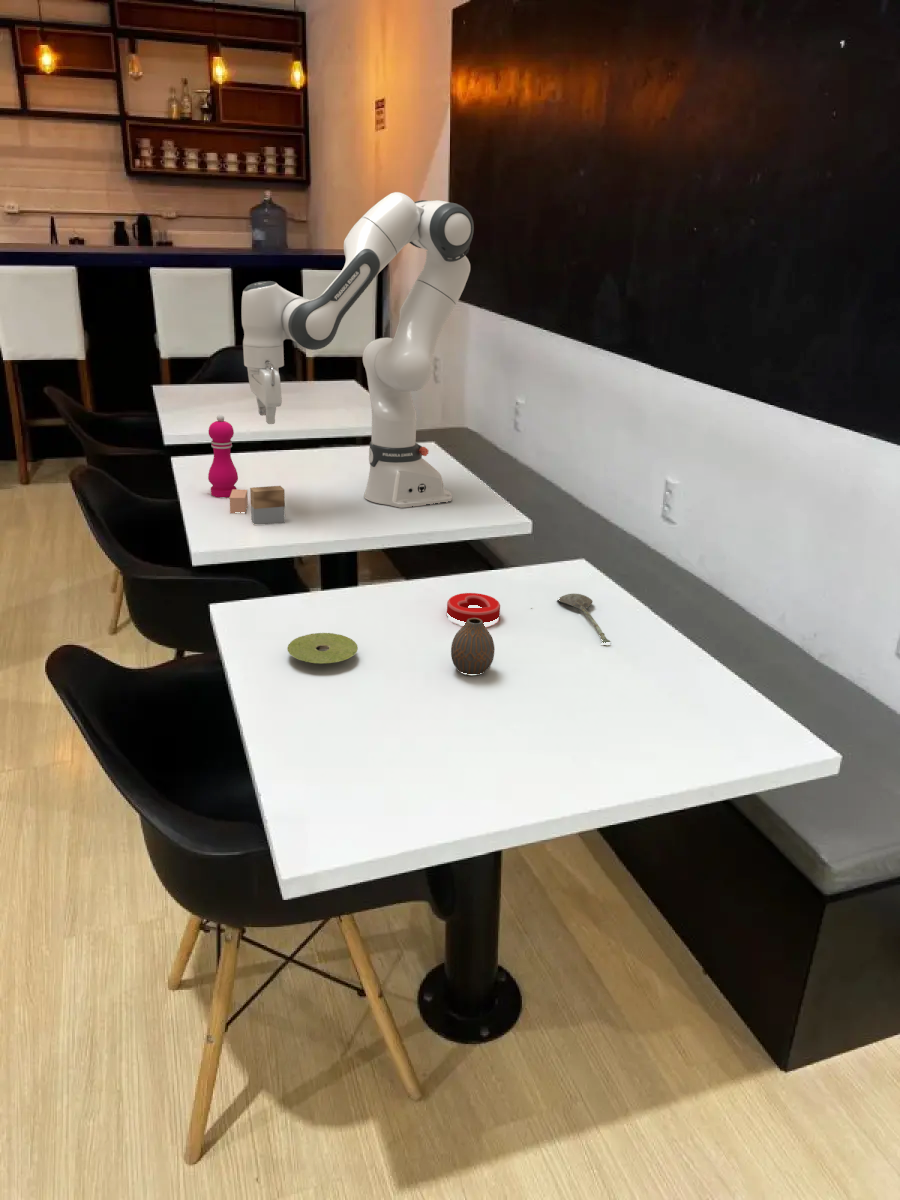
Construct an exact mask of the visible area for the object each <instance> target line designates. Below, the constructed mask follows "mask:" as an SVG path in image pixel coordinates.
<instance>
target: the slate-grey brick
mask: <svg viewBox="0 0 900 1200" xmlns="http://www.w3.org/2000/svg"><path fill="white" fill-rule="evenodd" d="M250 518H251V519H250V520H252V521H251V523H252V524H253V523H254V524H265V525H275V524H277V525H278V524H286V523H285V522H286V521H285V507H273V508H260V509H254V508H253V507H252V505H251V504H250ZM254 524H253V525H254Z"/></svg>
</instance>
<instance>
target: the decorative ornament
mask: <svg viewBox="0 0 900 1200" xmlns="http://www.w3.org/2000/svg"><path fill="white" fill-rule="evenodd" d="M469 605H478V606H480V607H482V608H468V606H469ZM447 613H448V614H449V615H450V616H451V617H453V618H455V619H457V620H460V621H464V622H467V620H468V619H470V618H479V619H481V620H482V621H483V623H484V622H490V621H493V620H495V619H497V618H498V617H499V618H500V616H499V615H500V614H501V604H500V602H499V601H498V600H497V599H496V598H495V597H493V596H490V595H487V594H483V593H476V592H464V593H458V594H455V595H453V596H451V597H450V598H449V599H448V600H447V603H446V614H447Z"/></svg>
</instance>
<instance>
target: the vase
mask: <svg viewBox="0 0 900 1200" xmlns="http://www.w3.org/2000/svg"><path fill="white" fill-rule="evenodd" d="M450 656H451V661H452V664H453V665H454V667H455V668H456V670H457V671H458V670H459V671H458V672H459V673H461V672H463V673H467V674H480V673H482V674H484V673H485V672H486V671H487V670H488V669H489V668H490V667H491V666H492V664H493V661H494V658H495V642H494V640H493V636H492V634H491V633H490V632H489V630H488V629H487V627H485V626H484V624H483V621H482V620H481V619H479V618H470V619H468V620H467V622H466V623H465V625H464V626H461V628H460V629H459V630H458V631H457V632H456V633H455V635H454V636H453V640H452V642H451V646H450ZM483 672H484V673H483Z"/></svg>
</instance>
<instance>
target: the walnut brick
mask: <svg viewBox="0 0 900 1200" xmlns="http://www.w3.org/2000/svg"><path fill="white" fill-rule="evenodd" d="M249 490H250V491H249V492H250V493H249V494H250V496H249V498H250V506H251V505H252V507H253V508H254V509H260V508H273V507H284V508H285V507H286V506H285V503H286V501H285V497H286V496H285V489H284V487H282V486H281V485H271V486H270V485H269V486H255V487H253V486H252V487H249Z"/></svg>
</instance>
